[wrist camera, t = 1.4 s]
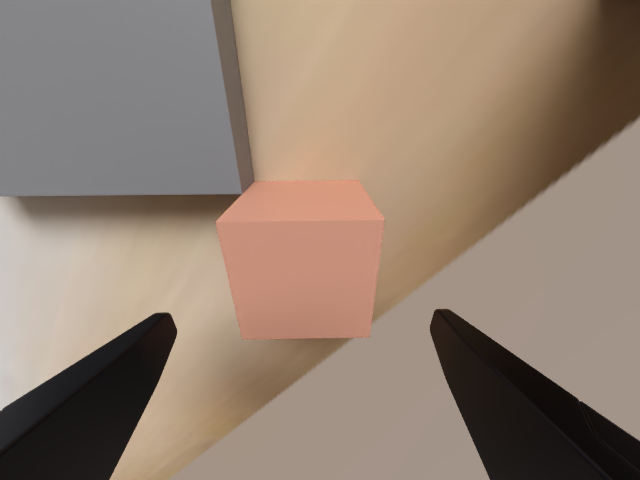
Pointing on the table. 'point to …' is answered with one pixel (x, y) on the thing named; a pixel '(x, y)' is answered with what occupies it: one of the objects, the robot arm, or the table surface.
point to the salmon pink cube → (302, 259)
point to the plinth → (121, 99)
